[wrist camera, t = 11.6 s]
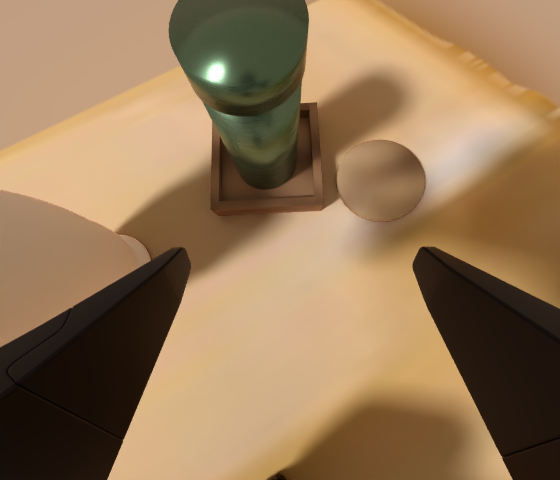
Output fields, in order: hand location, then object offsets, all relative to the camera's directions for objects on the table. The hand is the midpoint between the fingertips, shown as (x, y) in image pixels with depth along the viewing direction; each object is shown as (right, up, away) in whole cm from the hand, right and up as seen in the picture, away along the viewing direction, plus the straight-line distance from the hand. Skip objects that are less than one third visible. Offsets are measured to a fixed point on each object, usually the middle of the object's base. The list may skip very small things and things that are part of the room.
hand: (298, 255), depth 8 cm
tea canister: (-2, +9, +14) cm, 17 cm away
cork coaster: (+10, +7, +14) cm, 19 cm away
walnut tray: (-2, +9, +15) cm, 18 cm away
